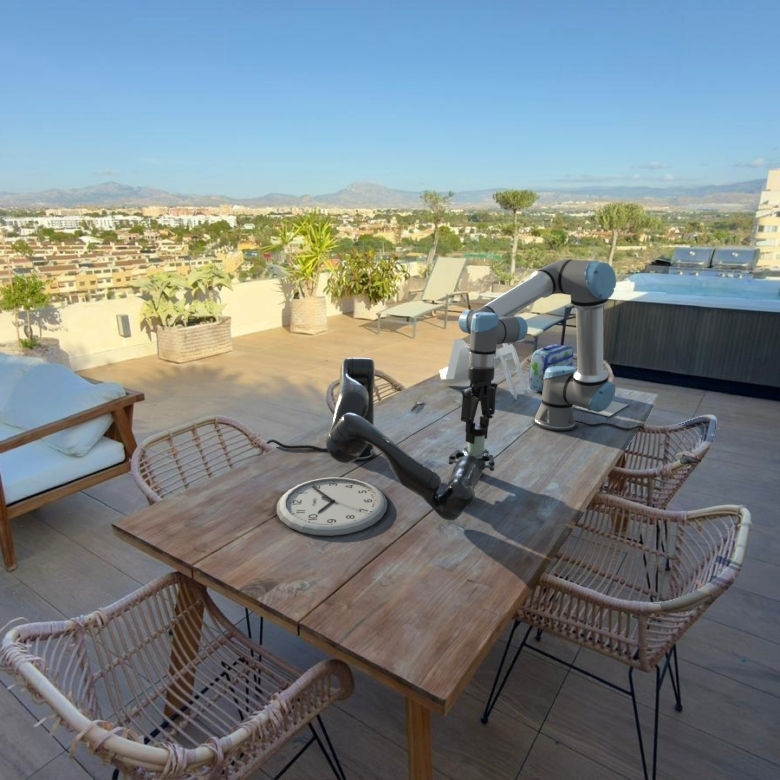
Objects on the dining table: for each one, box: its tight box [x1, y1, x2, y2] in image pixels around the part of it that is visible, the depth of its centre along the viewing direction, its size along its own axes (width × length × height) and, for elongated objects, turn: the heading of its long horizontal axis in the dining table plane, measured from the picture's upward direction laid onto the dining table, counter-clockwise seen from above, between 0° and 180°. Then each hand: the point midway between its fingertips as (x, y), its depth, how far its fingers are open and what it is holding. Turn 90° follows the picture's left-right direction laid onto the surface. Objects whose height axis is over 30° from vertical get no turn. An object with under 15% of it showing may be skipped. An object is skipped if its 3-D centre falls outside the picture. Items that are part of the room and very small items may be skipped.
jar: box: [467, 435, 486, 477], centre depth 160 cm, size 5×5×15 cm
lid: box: [474, 422, 487, 436], centre depth 158 cm, size 6×6×2 cm
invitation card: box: [573, 400, 629, 418], centre depth 226 cm, size 21×1×15 cm
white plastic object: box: [438, 338, 531, 400], centre depth 245 cm, size 37×45×31 cm
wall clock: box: [276, 476, 388, 537], centre depth 142 cm, size 30×2×30 cm
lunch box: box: [528, 344, 574, 393], centre depth 247 cm, size 26×11×21 cm, turn 134°
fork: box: [410, 395, 425, 412], centre depth 222 cm, size 3×16×2 cm, turn 160°
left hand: (476, 450), depth 163 cm, fingers closed on jar, 5 cm apart
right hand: (476, 439), depth 159 cm, fingers closed on lid, 5 cm apart
